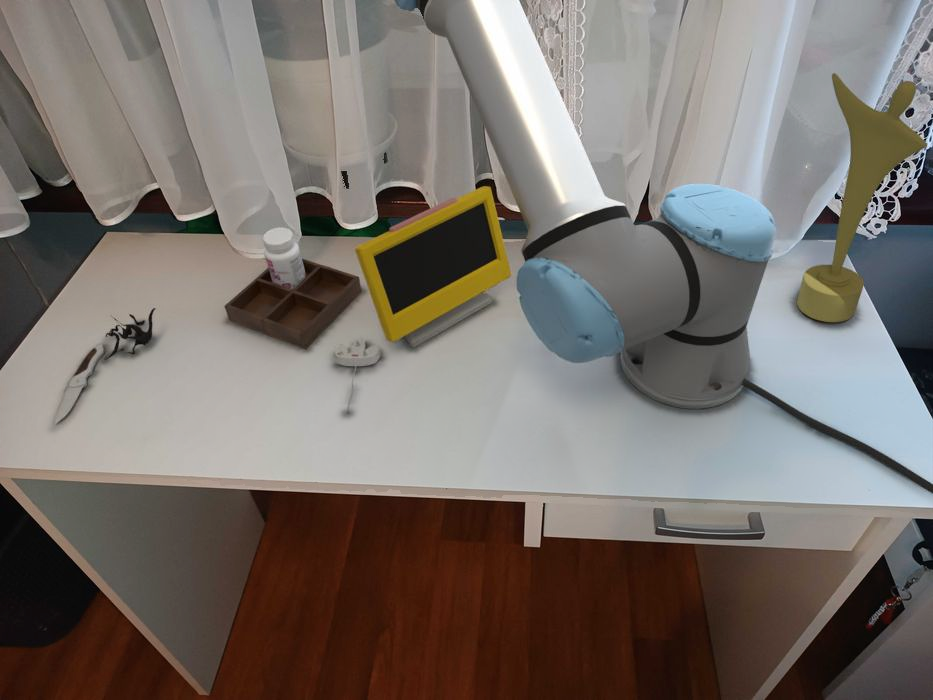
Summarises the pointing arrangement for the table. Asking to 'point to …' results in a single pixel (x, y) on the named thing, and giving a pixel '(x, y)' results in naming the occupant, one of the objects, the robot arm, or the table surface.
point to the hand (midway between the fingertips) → (299, 175)
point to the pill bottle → (283, 258)
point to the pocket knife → (79, 380)
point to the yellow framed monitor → (435, 267)
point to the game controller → (357, 356)
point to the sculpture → (858, 195)
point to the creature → (140, 335)
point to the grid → (295, 304)
